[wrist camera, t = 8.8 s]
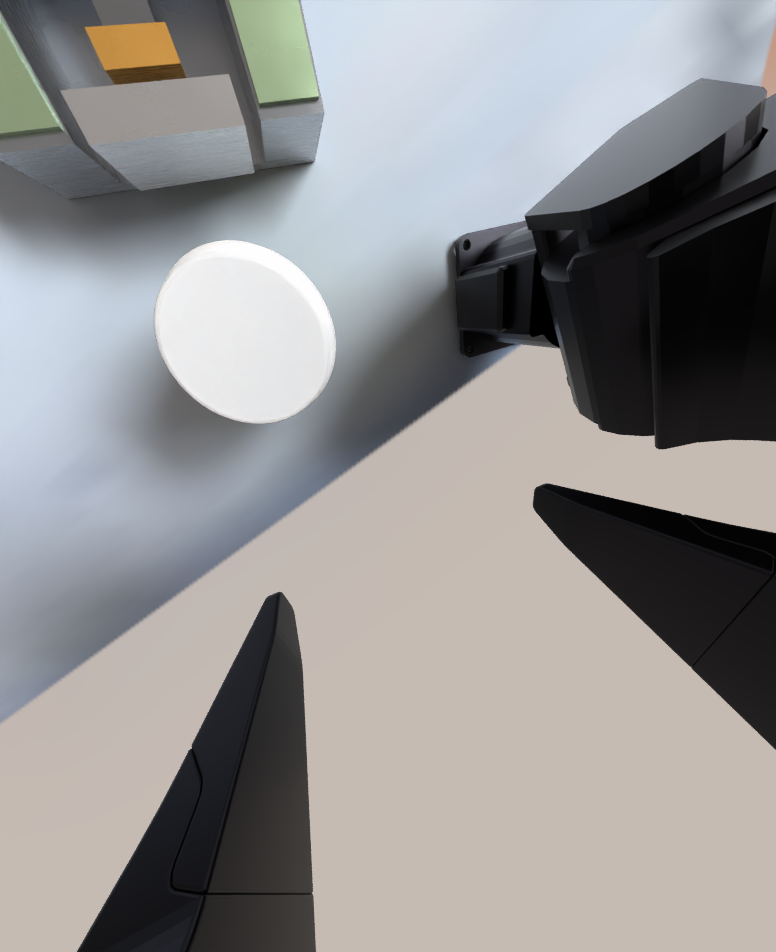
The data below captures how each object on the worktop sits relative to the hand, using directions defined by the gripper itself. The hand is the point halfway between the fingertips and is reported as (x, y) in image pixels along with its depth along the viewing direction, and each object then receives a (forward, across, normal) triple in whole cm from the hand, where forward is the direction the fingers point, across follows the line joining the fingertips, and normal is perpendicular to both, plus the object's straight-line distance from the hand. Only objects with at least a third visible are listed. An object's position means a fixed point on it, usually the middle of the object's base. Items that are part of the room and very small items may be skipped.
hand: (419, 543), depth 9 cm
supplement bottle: (+12, +3, -6) cm, 14 cm away
